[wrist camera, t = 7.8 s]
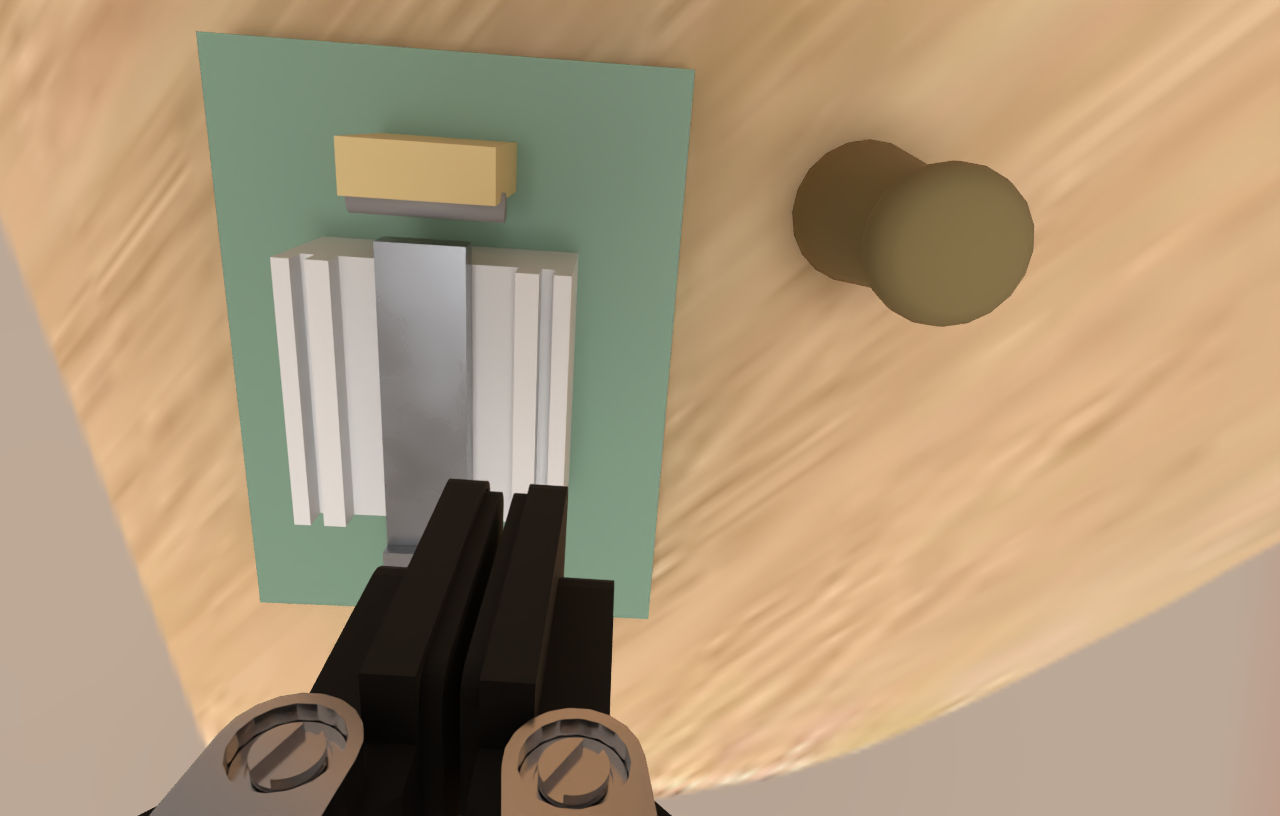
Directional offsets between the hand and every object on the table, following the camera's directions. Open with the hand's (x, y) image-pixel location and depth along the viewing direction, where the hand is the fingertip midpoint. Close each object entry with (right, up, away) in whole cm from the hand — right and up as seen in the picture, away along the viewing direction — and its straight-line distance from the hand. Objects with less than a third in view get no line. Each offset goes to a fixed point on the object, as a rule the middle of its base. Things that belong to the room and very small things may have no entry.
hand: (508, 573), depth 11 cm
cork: (+11, +11, +23) cm, 28 cm away
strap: (-6, +2, +18) cm, 19 cm away
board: (-6, +5, +24) cm, 26 cm away
